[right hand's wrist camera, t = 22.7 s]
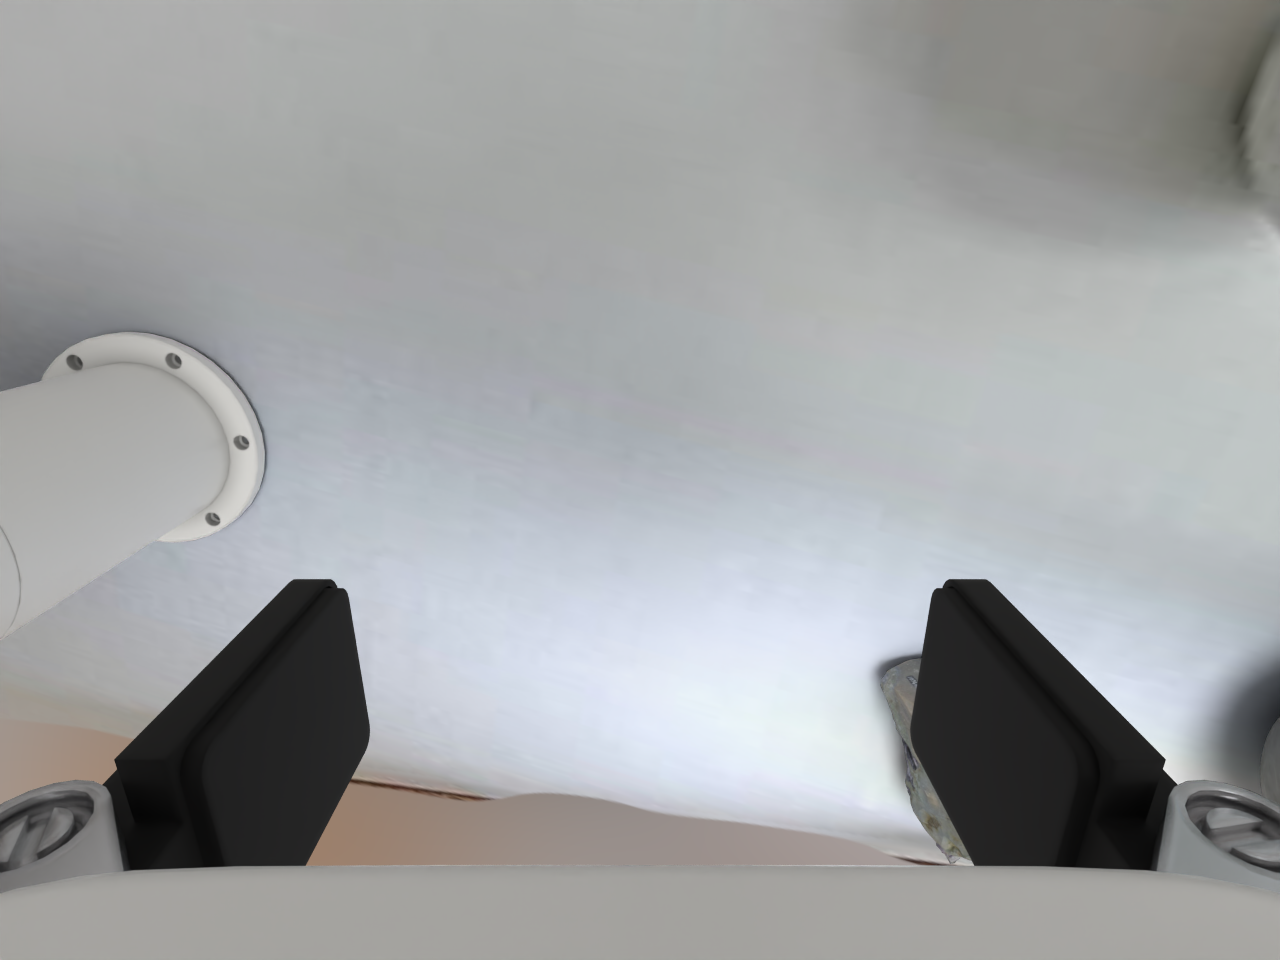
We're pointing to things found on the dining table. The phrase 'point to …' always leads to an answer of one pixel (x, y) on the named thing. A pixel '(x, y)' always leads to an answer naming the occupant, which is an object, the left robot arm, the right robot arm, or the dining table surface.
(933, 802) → the mineral rock
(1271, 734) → the sculpture
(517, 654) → the dining table surface
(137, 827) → the right robot arm
